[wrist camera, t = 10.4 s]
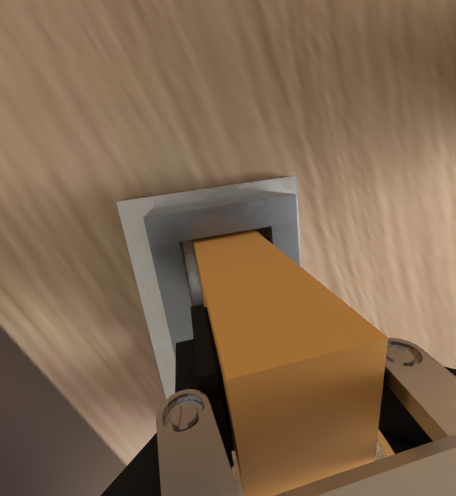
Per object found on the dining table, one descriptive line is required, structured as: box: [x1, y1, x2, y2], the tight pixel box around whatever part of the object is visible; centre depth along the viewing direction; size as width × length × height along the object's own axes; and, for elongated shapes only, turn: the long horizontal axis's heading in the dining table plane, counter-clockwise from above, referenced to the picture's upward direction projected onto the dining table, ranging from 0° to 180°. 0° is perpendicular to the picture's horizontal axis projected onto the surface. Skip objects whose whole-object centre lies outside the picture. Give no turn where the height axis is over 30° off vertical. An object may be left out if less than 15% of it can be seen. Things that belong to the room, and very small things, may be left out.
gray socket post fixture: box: [116, 176, 302, 496], centre depth 13 cm, size 19×12×16 cm, turn 7°
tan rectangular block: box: [193, 229, 388, 496], centre depth 11 cm, size 5×4×11 cm
